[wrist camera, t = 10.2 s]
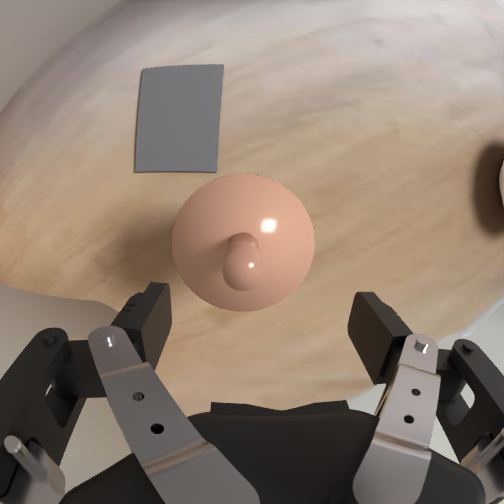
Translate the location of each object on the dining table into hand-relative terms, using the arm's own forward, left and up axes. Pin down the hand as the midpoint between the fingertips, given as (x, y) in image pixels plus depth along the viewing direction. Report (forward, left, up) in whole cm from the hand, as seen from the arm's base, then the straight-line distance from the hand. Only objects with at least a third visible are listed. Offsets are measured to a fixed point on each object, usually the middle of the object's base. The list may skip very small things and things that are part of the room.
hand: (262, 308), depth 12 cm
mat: (-12, -11, -30) cm, 34 cm away
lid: (+2, -1, -15) cm, 15 cm away
